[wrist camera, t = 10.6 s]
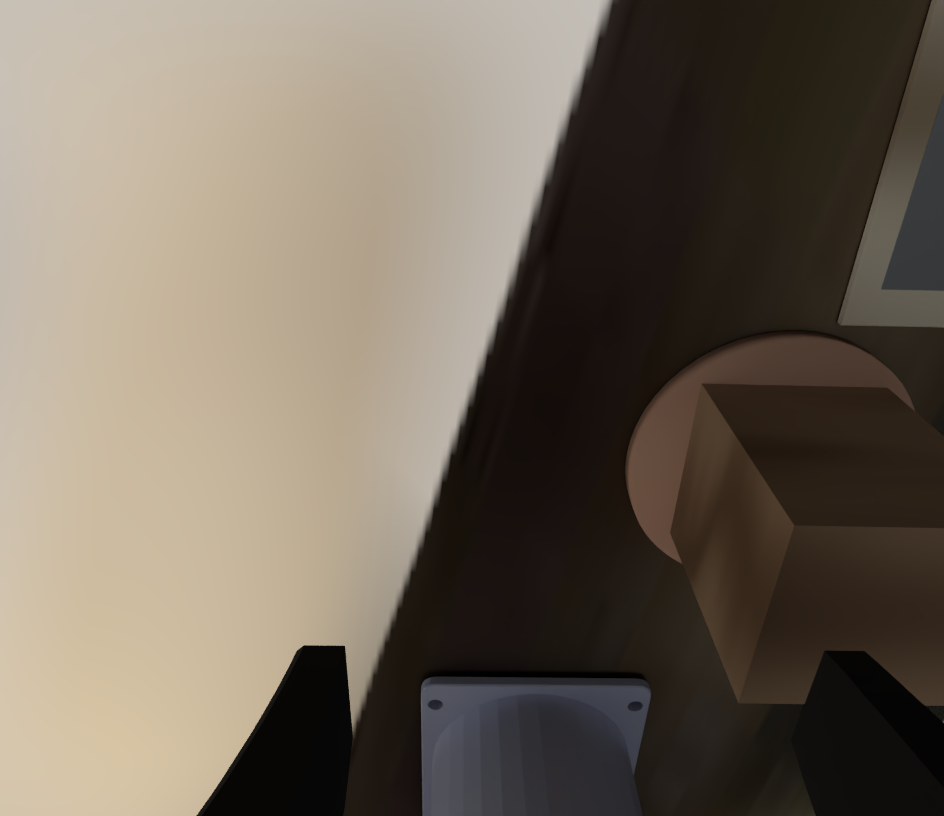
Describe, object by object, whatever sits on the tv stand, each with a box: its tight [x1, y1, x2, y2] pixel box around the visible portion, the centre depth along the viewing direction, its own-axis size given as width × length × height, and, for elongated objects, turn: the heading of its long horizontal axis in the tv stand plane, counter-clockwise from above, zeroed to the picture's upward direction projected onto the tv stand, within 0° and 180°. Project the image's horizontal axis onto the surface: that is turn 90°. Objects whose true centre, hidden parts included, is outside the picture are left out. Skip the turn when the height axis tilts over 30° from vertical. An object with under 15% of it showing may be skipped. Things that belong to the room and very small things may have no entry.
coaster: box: [625, 330, 915, 563], centre depth 20 cm, size 8×8×1 cm
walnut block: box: [670, 383, 944, 706], centre depth 17 cm, size 5×5×6 cm
